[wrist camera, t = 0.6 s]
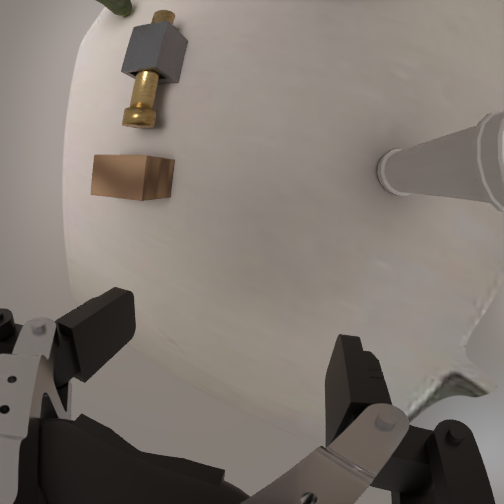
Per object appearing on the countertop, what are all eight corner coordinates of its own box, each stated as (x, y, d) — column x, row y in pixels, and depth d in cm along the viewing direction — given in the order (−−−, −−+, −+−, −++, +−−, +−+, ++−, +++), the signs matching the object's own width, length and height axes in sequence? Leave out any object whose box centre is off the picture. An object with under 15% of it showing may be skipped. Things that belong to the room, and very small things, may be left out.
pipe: (370, 186, 32) (589, 207, 3) (382, 138, 30) (573, 34, 1) (409, 201, 31) (626, 265, 2) (421, 155, 29) (631, 121, 1)
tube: (158, 23, 29) (144, 11, 25) (184, 19, 28) (171, 6, 24) (133, 128, 33) (115, 123, 29) (159, 128, 33) (143, 122, 29)
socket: (126, 157, 36) (94, 154, 29) (174, 159, 35) (146, 155, 28) (122, 191, 38) (90, 194, 31) (170, 197, 36) (141, 200, 30)
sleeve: (156, 44, 32) (133, 27, 25) (188, 41, 31) (168, 20, 25) (146, 84, 33) (120, 71, 27) (178, 82, 33) (155, 66, 26)
